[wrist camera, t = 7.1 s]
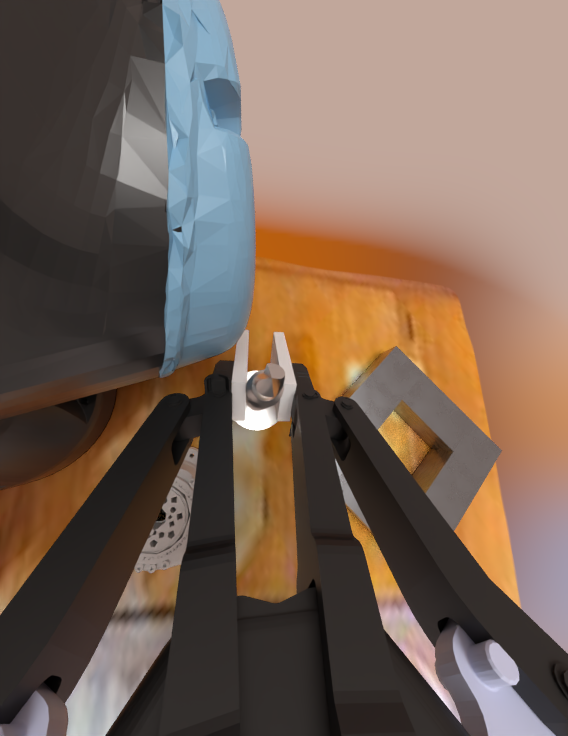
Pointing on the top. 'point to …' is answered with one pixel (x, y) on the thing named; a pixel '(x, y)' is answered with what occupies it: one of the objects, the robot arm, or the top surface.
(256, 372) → the screw
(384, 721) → the robot arm
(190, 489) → the mechanical component
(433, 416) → the socket plate
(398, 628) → the top surface
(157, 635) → the top surface
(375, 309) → the top surface
